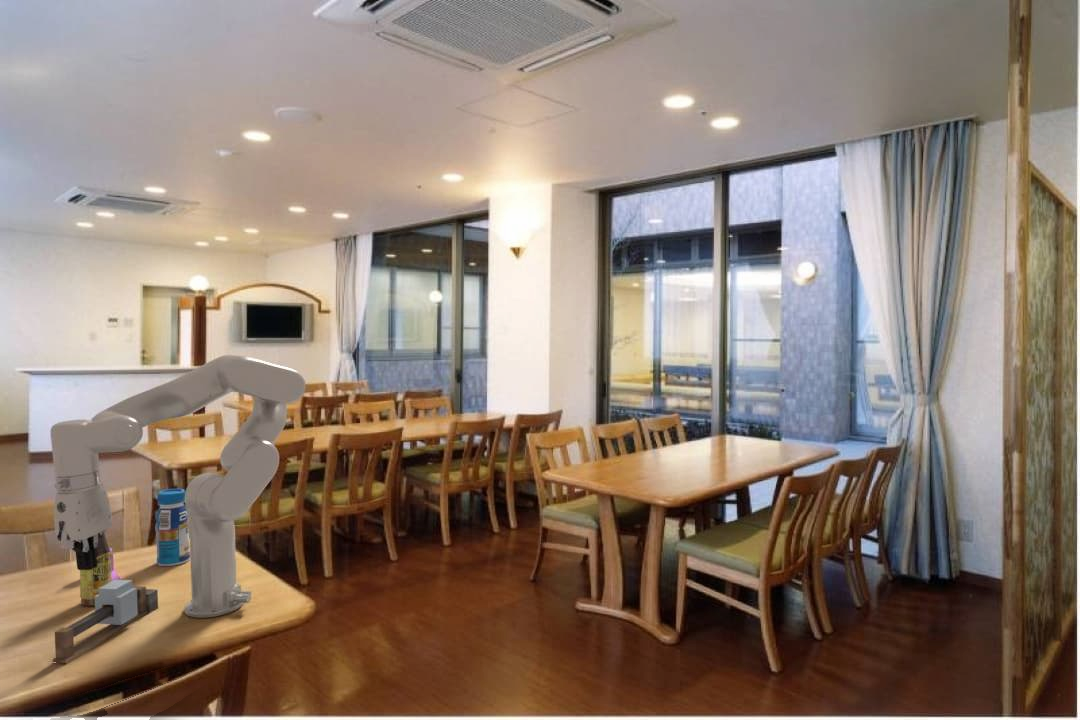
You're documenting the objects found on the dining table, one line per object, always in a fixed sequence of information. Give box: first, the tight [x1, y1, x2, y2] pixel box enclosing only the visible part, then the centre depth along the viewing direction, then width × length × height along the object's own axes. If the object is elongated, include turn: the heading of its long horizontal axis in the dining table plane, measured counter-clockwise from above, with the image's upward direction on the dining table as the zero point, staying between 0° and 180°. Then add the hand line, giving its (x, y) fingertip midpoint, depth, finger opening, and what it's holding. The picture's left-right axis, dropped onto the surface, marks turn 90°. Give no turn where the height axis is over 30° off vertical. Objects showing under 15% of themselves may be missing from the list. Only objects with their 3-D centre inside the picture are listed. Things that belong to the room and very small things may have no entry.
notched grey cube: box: [94, 579, 138, 625], centre depth 147 cm, size 6×5×8 cm
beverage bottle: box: [154, 488, 190, 567], centre depth 187 cm, size 8×8×20 cm
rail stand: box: [52, 585, 159, 665], centre depth 145 cm, size 4×26×6 cm, turn 174°
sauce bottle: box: [79, 532, 111, 607], centre depth 160 cm, size 6×6×20 cm
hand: (87, 568), depth 138 cm, fingers closed
